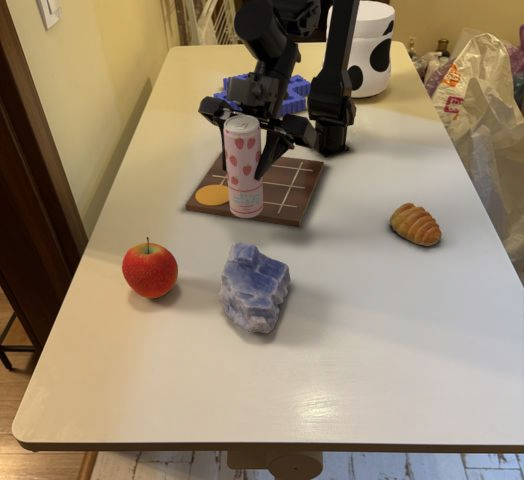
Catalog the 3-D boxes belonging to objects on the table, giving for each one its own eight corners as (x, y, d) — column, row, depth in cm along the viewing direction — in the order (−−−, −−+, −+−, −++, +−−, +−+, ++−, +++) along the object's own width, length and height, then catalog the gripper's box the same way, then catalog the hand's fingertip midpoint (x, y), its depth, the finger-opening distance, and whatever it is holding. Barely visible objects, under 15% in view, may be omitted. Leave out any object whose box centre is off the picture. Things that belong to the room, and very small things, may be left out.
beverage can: (232, 221, 86) (225, 133, 75) (228, 202, 90) (220, 116, 79) (266, 216, 87) (263, 129, 76) (260, 198, 91) (257, 112, 79)
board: (223, 154, 112) (223, 148, 111) (323, 166, 108) (324, 160, 106) (186, 210, 98) (185, 203, 97) (299, 227, 94) (299, 220, 92)
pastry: (449, 240, 90) (454, 221, 87) (420, 253, 88) (424, 235, 85) (412, 214, 95) (416, 196, 92) (383, 226, 93) (387, 208, 90)
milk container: (305, 89, 134) (308, 8, 121) (355, 72, 141) (363, -6, 127) (351, 112, 125) (359, 27, 111) (402, 93, 131) (416, 11, 118)
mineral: (224, 230, 78) (290, 232, 76) (234, 274, 85) (294, 277, 84) (201, 302, 70) (274, 307, 68) (214, 344, 77) (280, 349, 75)
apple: (119, 294, 82) (103, 243, 75) (157, 269, 86) (145, 217, 79) (153, 317, 79) (140, 265, 71) (191, 289, 83) (182, 237, 75)
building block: (223, 126, 121) (222, 115, 119) (206, 86, 137) (205, 76, 135) (325, 112, 124) (326, 102, 123) (297, 75, 140) (297, 65, 138)
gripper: (196, 39, 76) (165, 144, 78) (312, 59, 70) (274, 173, 72) (228, 76, 86) (200, 168, 88) (331, 96, 80) (298, 195, 82)
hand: (240, 175), depth 82 cm, fingers closed on beverage can, 5 cm apart
